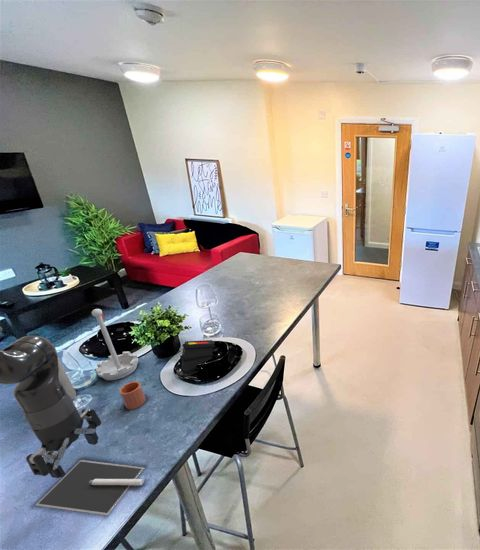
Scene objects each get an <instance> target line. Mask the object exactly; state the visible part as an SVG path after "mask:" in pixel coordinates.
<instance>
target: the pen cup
mask: <svg viewBox="0 0 480 550" xmlns="http://www.w3.org/2000/svg"><path fill="white" fill-rule="evenodd" d="M119 394H120V397H121V399H122V402H123V404H124V407H125V408H126V409H127V410H134V409H137V408H139V407H141V406H142V405H143V404H144V403H145V402H146V400H147V398H146V395H145V392H144V389H143V387H142V385H141V383H140V382H139V381H131V382H128V383H125V384H124V385H123V386H122V387H120V389H119Z"/></svg>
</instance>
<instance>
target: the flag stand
mask: <svg viewBox="0 0 480 550" xmlns="http://www.w3.org/2000/svg"><path fill="white" fill-rule="evenodd" d="M91 315H92V316H93V317H95V318H96V321H97V324H98V326H99V328H100V331H101V333H102V335H103V339H104V341H105V343H106V345H107V348H108V350H109V353H110V355H108V358H107V359H106V360H100V361H99V362H98V363H97V365H96V366H97V368H95V372H96V374H97V376H98V377H100V378H103V380H105V381H116V380H120V379H122V378H125V377H127V376H129V375H131V374H132V373H133V372H134V371H135V370H136V369H137V366H138V363H139V357H138V355H137V353H136V352H133V353H131V351H122V354H117V352H116V350H115V347H114V345H113V342H112V339H111V337H110V334H109V331H108V329H107V327H106V324H105V322H104V314H103V310H102V309H101V308H95V309H93V310H92V311H91Z"/></svg>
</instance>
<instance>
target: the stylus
mask: <svg viewBox="0 0 480 550" xmlns="http://www.w3.org/2000/svg"><path fill="white" fill-rule="evenodd" d="M144 483H145V479H144V478H136V479H94V480H90V481H89V484H92V485H131V486H143V484H144Z"/></svg>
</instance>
